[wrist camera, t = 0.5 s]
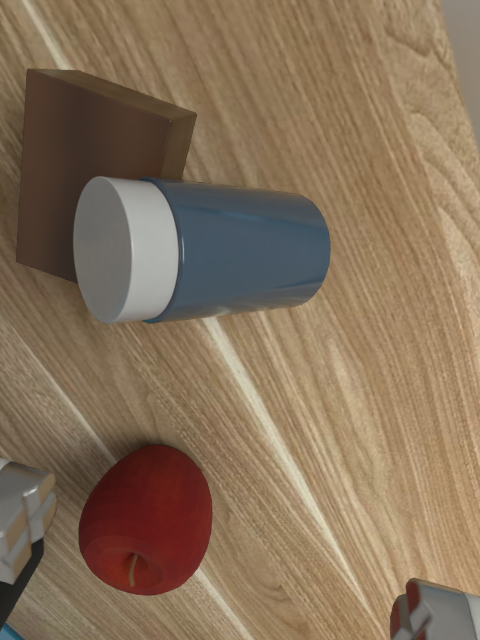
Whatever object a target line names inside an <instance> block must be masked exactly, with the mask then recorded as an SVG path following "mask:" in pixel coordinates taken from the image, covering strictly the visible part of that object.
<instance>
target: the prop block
mask: <svg viewBox="0 0 480 640" xmlns="http://www.w3.org/2000/svg"><path fill="white" fill-rule="evenodd" d="M196 116H197V114H196V113H195V112H192V111H189V110H187V109H184V108H181V107H178V106H176V105H173V104H170V103H167V102H164V101H162V100H159V99H156V98H153V97H151V96H148V95H145V94H142V93H140V92H137V91H134V90H131V89H128V88H126V87H123V86H120V85H117V84H115V83H112V82H109V81H106V80H104V79H101V78H98V77H95V76H93V75H90V74H87V73H84V72H81V71H79V70H55V69H27V78H26V96H25V114H24V131H23V149H22V167H21V184H20V202H19V220H18V237H17V255H16V262H18V263H21V264H24V265H27V266H30V267H32V268H35V269H38V270H41V271H44V272H47V273H49V274H52V275H55V276H58V277H61V278H64V279H66V280H69V281H72V282H75V283H78V280H77V275H76V269H75V262H74V248H73V234H74V221H75V215H76V209H77V205H78V202H79V198H80V196H81V193H82V191H83V189H84V187H85V186H86V184H87V183H88V182H89V181H90V180H91V179H93V178H94V177H98V176H104V177H113V178H123V179H132V180H136V179H138V178H140V177H144V176H150V177H159V178H168V179H176V180H181V179H182V175H183V170H184V166H185V162H186V158H187V154H188V150H189V145H190V141H191V137H192V133H193V129H194V125H195V120H196Z"/></svg>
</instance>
